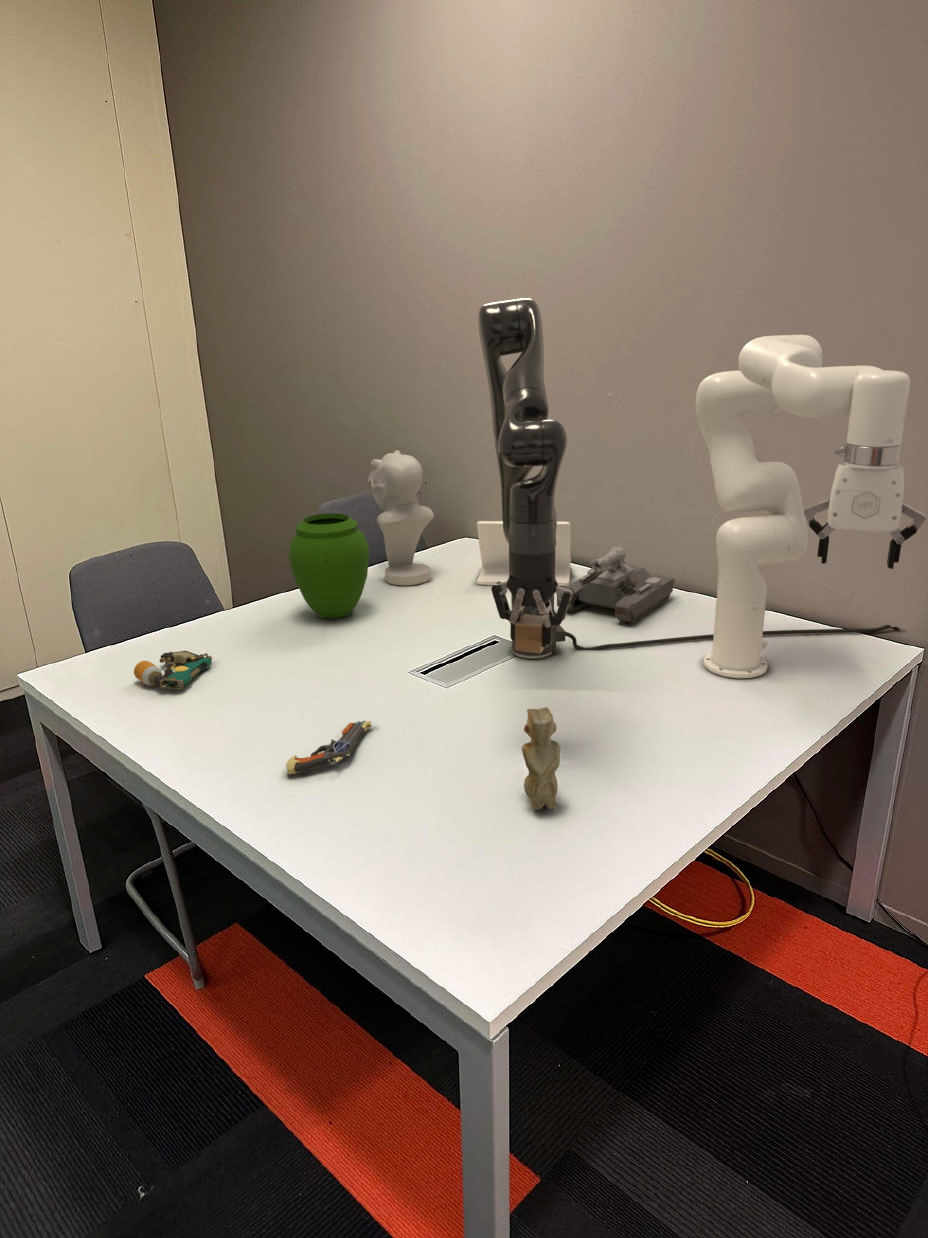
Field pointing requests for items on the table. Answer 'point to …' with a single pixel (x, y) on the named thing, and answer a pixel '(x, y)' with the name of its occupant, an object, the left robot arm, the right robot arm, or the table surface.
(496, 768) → the table surface
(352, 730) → the toy gun
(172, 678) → the spray gun
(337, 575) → the vase
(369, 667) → the table surface
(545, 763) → the sculpture
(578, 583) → the toy
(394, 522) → the bust sculpture
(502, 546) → the tablet stand
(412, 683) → the table surface
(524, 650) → the brown wooden block
